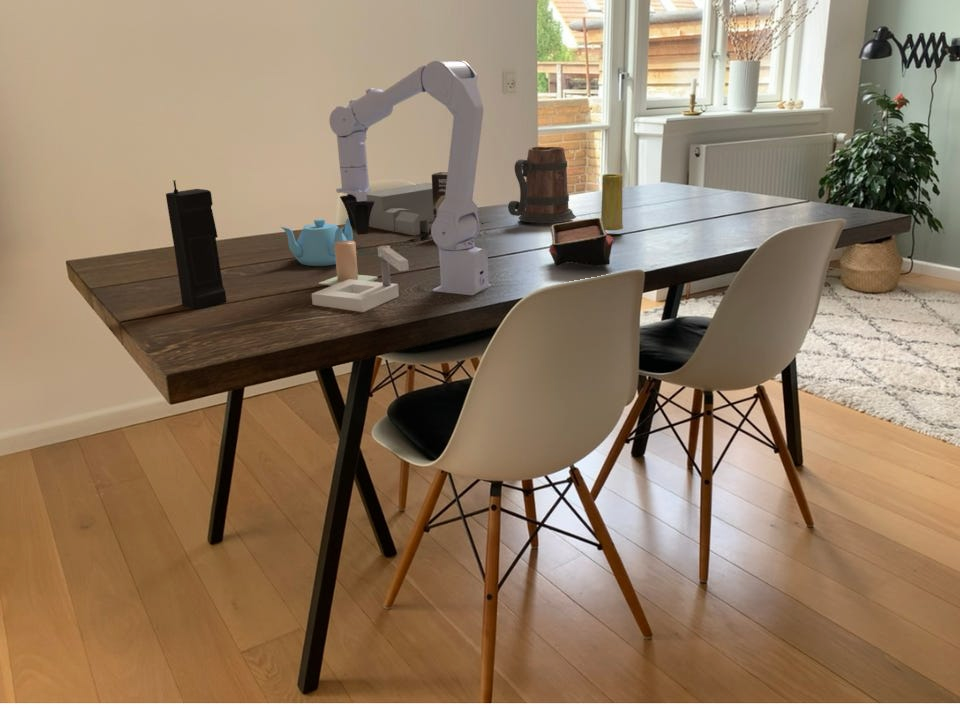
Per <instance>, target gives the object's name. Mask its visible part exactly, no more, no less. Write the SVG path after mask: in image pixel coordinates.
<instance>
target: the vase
mask: <svg viewBox="0 0 960 708" xmlns="http://www.w3.org/2000/svg"><path fill="white" fill-rule="evenodd" d="M601 181H602V183H601V187H602V188H601V191H602V192H601V194H602V195H601V214H600V216H601V217H600V218H601V219H602V222H603V225H604V229H605V231H620V230H623V229H624V226H623V225H624V224H623V174H621V173H604V174H602V180H601Z"/></svg>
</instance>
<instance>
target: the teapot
mask: <svg viewBox="0 0 960 708" xmlns="http://www.w3.org/2000/svg"><path fill="white" fill-rule="evenodd" d="M313 222H314V223H313V224H306V225H304V226H303V228H302V230H301V232H300V233H299V236H298V237H297V239H296V238H295V235H294V232H293V230H292V229H291V228H290V227H289V228H288V227H286V226H285V227H284V226H280V228H281V229H282V230H283V231H284V232H285V233H286V236H287V242H288V247H289V251H290V252H291V253H292V255H294V257H295V259H296V260H297V262H298V263H300V264H301V265H304V266H308V267H309V266H310V267H325V266H333V265H335V266H336V257H335V245H334V243H335V242H338V241H354V234H353V233H354V232H353V229H352V227H351V225H350V221H349V218H346V220H345V224H344V225H345V226H342V227H338V225H336V224H335V223H325V222H326V220H325V218H318V219H314V220H313ZM343 230H344V232H343Z"/></svg>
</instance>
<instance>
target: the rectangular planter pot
mask: <svg viewBox="0 0 960 708" xmlns="http://www.w3.org/2000/svg"><path fill="white" fill-rule="evenodd" d="M550 233H551V241H552V242H551V244H550V246H549V249H548V251H549V253H550V256H551V258H552V259H553V262H554V265H555V266H554V267H558V266H561V265H564V264H567V263H569V264H570V263H571V264H579V265H587V266H595V267H596V266H597V267H598V266H610V261H611V259H610V258H611V252H612V248H613V247H612V246H613V244H614V237H612V236H611V235H608V234H607V230H605V229H604V225H603V222H602V219H601V217H593V218H585V219H579V220H578V219H576V220H569V221H564V222H561V223H560V222H558V223H555V224H552V225H551V227H550Z"/></svg>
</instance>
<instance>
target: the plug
mask: <svg viewBox="0 0 960 708" xmlns="http://www.w3.org/2000/svg"><path fill="white" fill-rule="evenodd" d="M334 245H335V257H336V264H335V267H336V268H335V269H336V276H337V280H338V281H340V282H343V281H346V280H348V279H353V280H358V275H359V271H358V260H357V258H358V257H357V247H356V246H357V243H356V241H354V240H353V241H338V242H335V243H334Z"/></svg>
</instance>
